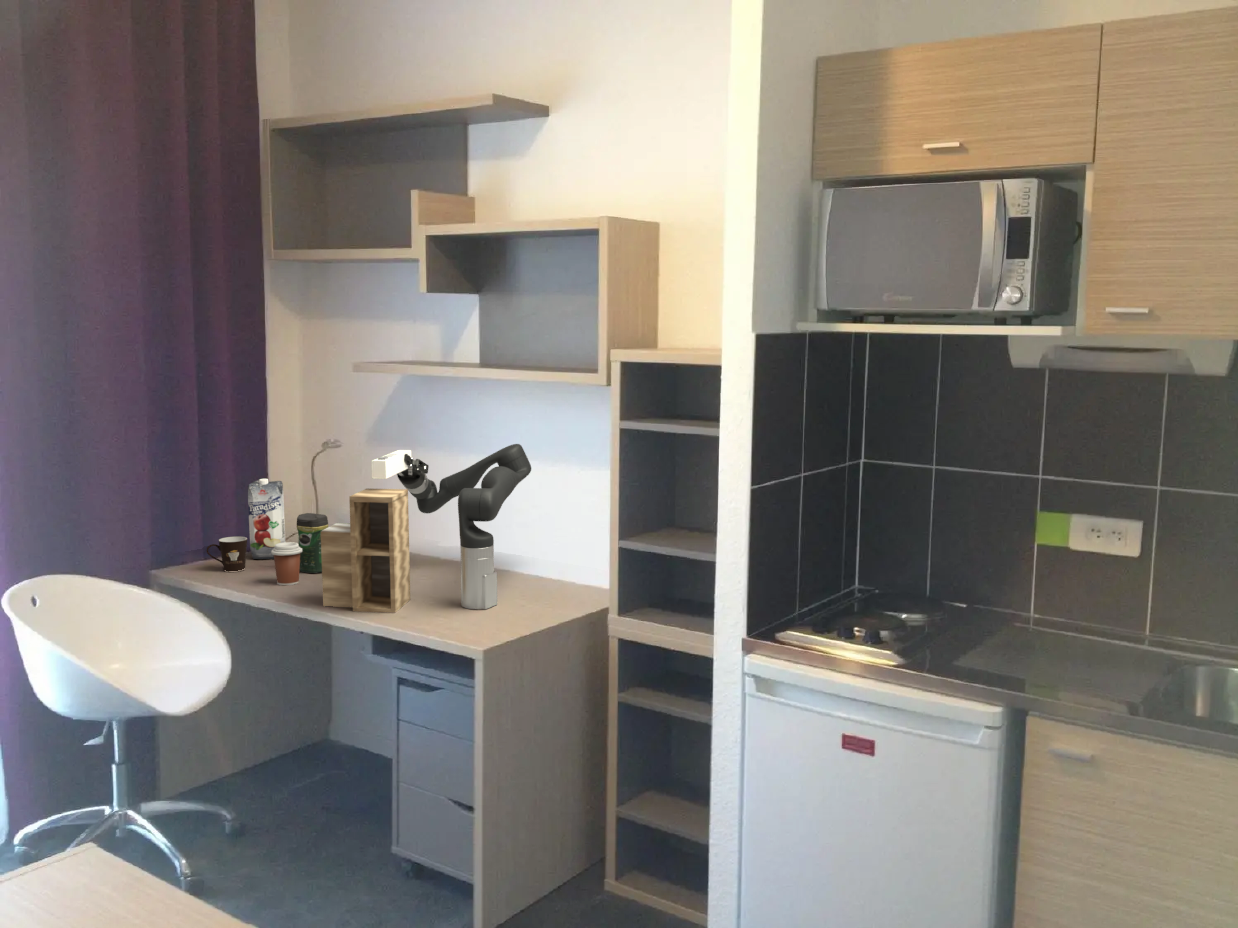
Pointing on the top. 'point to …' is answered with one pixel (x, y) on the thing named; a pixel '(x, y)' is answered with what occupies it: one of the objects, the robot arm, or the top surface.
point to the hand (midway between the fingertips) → (397, 456)
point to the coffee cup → (287, 562)
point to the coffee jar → (311, 541)
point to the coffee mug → (232, 552)
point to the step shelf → (369, 554)
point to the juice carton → (265, 517)
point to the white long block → (389, 464)
